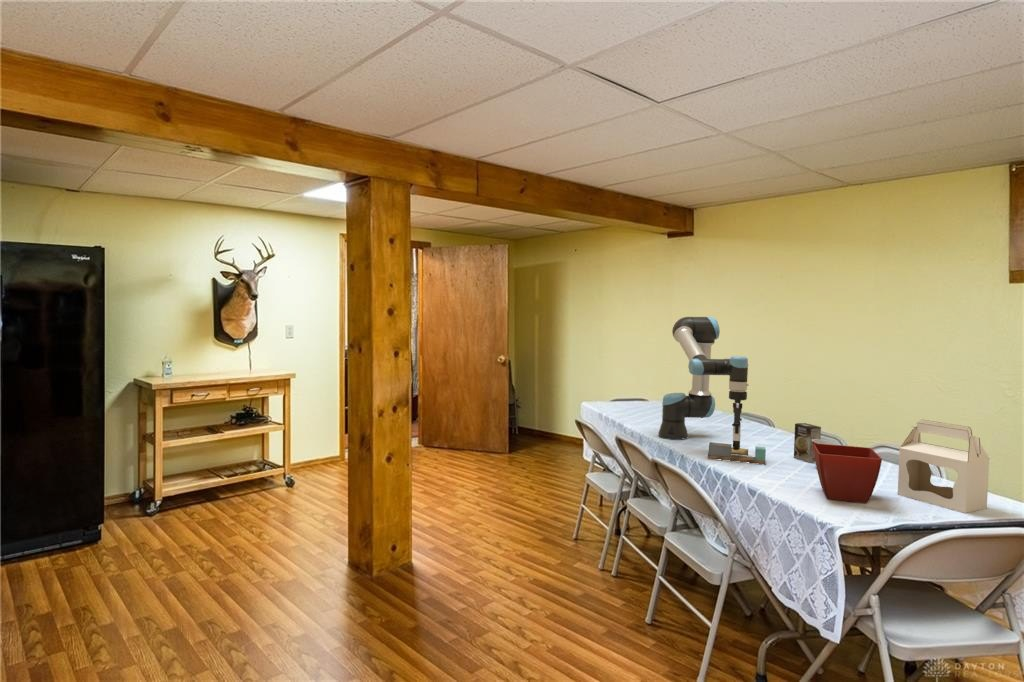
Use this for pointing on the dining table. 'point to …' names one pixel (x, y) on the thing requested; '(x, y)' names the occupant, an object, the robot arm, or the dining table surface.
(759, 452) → the teal socket block
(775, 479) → the dining table surface
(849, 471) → the plant pot
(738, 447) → the slip tube
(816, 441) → the plastic cup
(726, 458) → the walnut board
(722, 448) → the grey rectangular block
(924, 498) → the gable box
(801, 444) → the coffee box
